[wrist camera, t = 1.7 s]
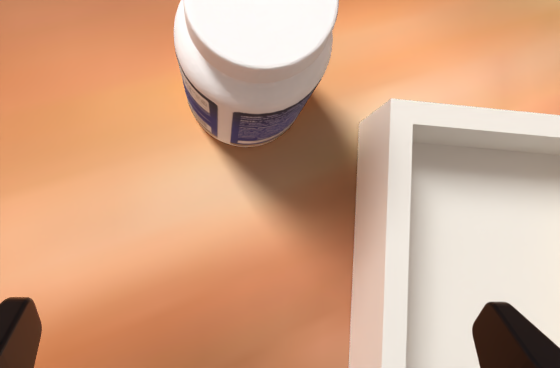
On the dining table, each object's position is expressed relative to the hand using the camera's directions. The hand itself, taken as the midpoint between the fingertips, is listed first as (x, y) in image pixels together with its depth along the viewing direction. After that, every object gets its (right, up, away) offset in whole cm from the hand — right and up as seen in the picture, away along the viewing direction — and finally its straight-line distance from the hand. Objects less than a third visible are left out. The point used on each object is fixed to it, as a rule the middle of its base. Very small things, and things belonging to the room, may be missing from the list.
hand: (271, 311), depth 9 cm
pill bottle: (-2, +7, +14) cm, 16 cm away
